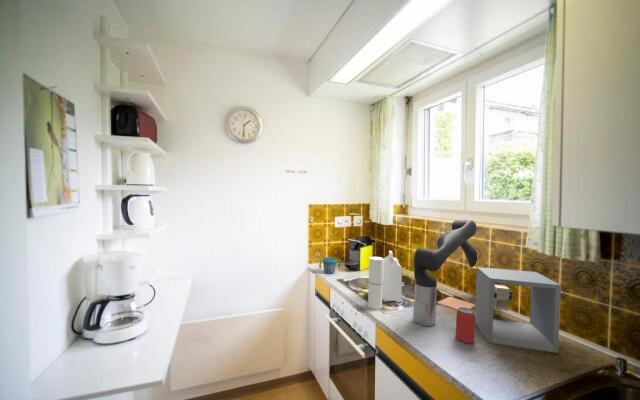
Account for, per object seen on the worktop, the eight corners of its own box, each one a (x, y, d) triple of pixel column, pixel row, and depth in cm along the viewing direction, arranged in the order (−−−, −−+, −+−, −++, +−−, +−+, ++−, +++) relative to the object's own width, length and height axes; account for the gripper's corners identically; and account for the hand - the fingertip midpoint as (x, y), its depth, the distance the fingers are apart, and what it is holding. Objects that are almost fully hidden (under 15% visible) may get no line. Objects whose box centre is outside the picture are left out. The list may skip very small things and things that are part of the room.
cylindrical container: (365, 306, 136) (366, 258, 135) (372, 302, 141) (374, 255, 141) (377, 310, 131) (379, 260, 130) (384, 306, 136) (386, 258, 136)
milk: (378, 292, 155) (379, 249, 154) (398, 294, 153) (399, 250, 153) (379, 301, 143) (381, 253, 143) (401, 302, 142) (403, 254, 141)
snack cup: (337, 270, 200) (338, 256, 199) (341, 274, 189) (342, 260, 189) (317, 271, 196) (318, 257, 196) (320, 275, 186) (321, 261, 186)
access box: (557, 352, 99) (560, 285, 98) (487, 342, 105) (490, 278, 104) (533, 330, 115) (536, 272, 115) (474, 321, 122) (476, 266, 121)
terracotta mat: (464, 312, 131) (464, 311, 131) (437, 303, 142) (437, 302, 142) (476, 306, 140) (476, 304, 140) (449, 297, 151) (449, 296, 151)
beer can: (472, 337, 108) (473, 308, 108) (475, 345, 102) (477, 315, 102) (454, 334, 110) (455, 305, 110) (456, 342, 104) (458, 312, 104)
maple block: (508, 310, 119) (509, 288, 119) (495, 309, 121) (496, 287, 121) (504, 306, 124) (504, 285, 124) (491, 304, 126) (492, 284, 125)
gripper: (474, 276, 138) (485, 286, 122) (506, 279, 134) (521, 290, 118) (473, 290, 138) (484, 303, 122) (505, 294, 134) (520, 307, 118)
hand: (502, 297), depth 120 cm, fingers closed on maple block, 5 cm apart
